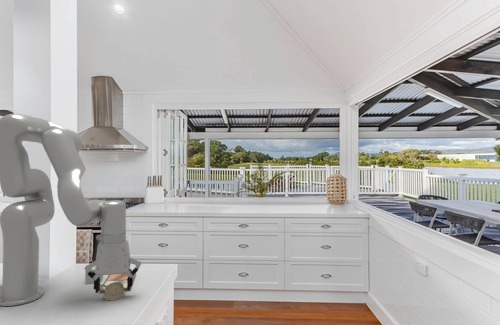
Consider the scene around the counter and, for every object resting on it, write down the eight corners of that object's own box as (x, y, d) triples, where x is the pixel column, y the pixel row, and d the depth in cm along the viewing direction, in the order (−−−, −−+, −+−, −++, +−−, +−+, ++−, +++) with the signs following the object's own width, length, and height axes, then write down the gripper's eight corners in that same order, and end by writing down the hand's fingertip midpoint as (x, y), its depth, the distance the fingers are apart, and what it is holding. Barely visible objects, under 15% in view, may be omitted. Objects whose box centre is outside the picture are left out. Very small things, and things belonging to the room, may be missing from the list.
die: (85, 283, 114) (85, 270, 114) (88, 278, 119) (89, 265, 119) (99, 282, 115) (100, 269, 115) (102, 278, 120) (103, 264, 120)
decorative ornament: (127, 297, 103) (127, 281, 103) (100, 303, 98) (100, 286, 98) (123, 293, 107) (123, 277, 107) (97, 299, 101) (97, 282, 101)
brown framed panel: (99, 293, 106) (99, 289, 106) (109, 276, 121) (109, 273, 121) (130, 291, 108) (130, 287, 108) (135, 275, 124) (135, 272, 124)
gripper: (81, 242, 97) (81, 297, 97) (139, 239, 101) (139, 291, 101) (88, 237, 104) (88, 288, 104) (142, 234, 108) (142, 283, 108)
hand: (113, 289), depth 102 cm, fingers open, 9 cm apart
